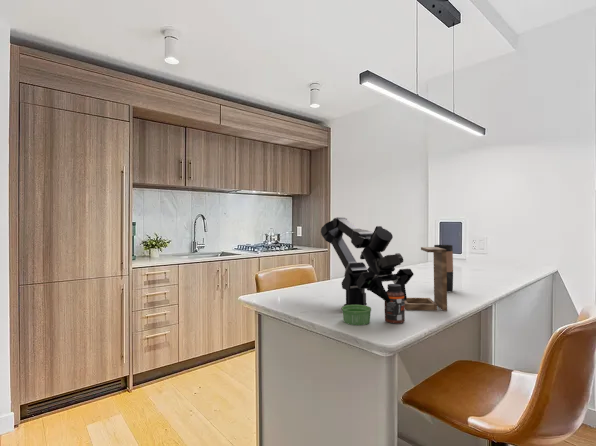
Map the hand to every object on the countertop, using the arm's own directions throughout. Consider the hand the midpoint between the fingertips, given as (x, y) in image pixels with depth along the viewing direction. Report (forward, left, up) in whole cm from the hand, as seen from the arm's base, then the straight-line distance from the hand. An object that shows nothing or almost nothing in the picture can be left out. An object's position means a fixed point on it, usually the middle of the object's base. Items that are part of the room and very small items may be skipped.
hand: (397, 300), depth 106 cm
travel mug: (+2, +59, -7) cm, 59 cm away
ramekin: (-11, -5, -7) cm, 14 cm away
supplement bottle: (-1, +1, -7) cm, 7 cm away
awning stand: (+1, +25, -7) cm, 25 cm away
